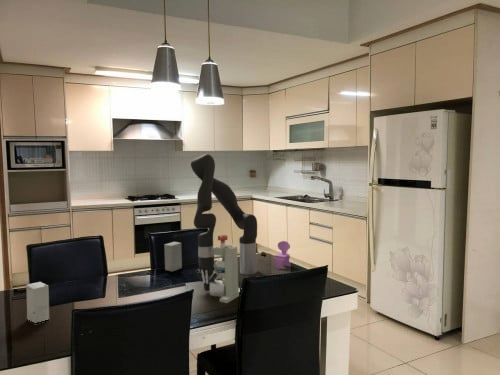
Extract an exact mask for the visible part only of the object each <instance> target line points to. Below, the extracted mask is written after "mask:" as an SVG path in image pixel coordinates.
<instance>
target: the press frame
mask: <svg viewBox="0 0 500 375" xmlns="http://www.w3.org/2000/svg"><path fill="white" fill-rule="evenodd" d="M213 248H214V256H224V255H225V283H226V295H225V296H223V297H219V302H220V303H225V304H228V303H231V301H233V300H235V299H236V298H238V297H240V296H239V292H240V288H241V287H239V266H238V264H239V263H238V246H233V245H228V244H225V248H221V245H220V247H217V246H216V247H213Z"/></svg>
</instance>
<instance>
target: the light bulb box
mask: <svg viewBox="0 0 500 375" xmlns="http://www.w3.org/2000/svg"><path fill="white" fill-rule="evenodd" d="M214 268H215V271H216V272H218V273H219V274H218V276H217V277H216V279H215V280H220V281H222V279H225V268H221V267H217V264H216V262H214Z"/></svg>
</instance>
